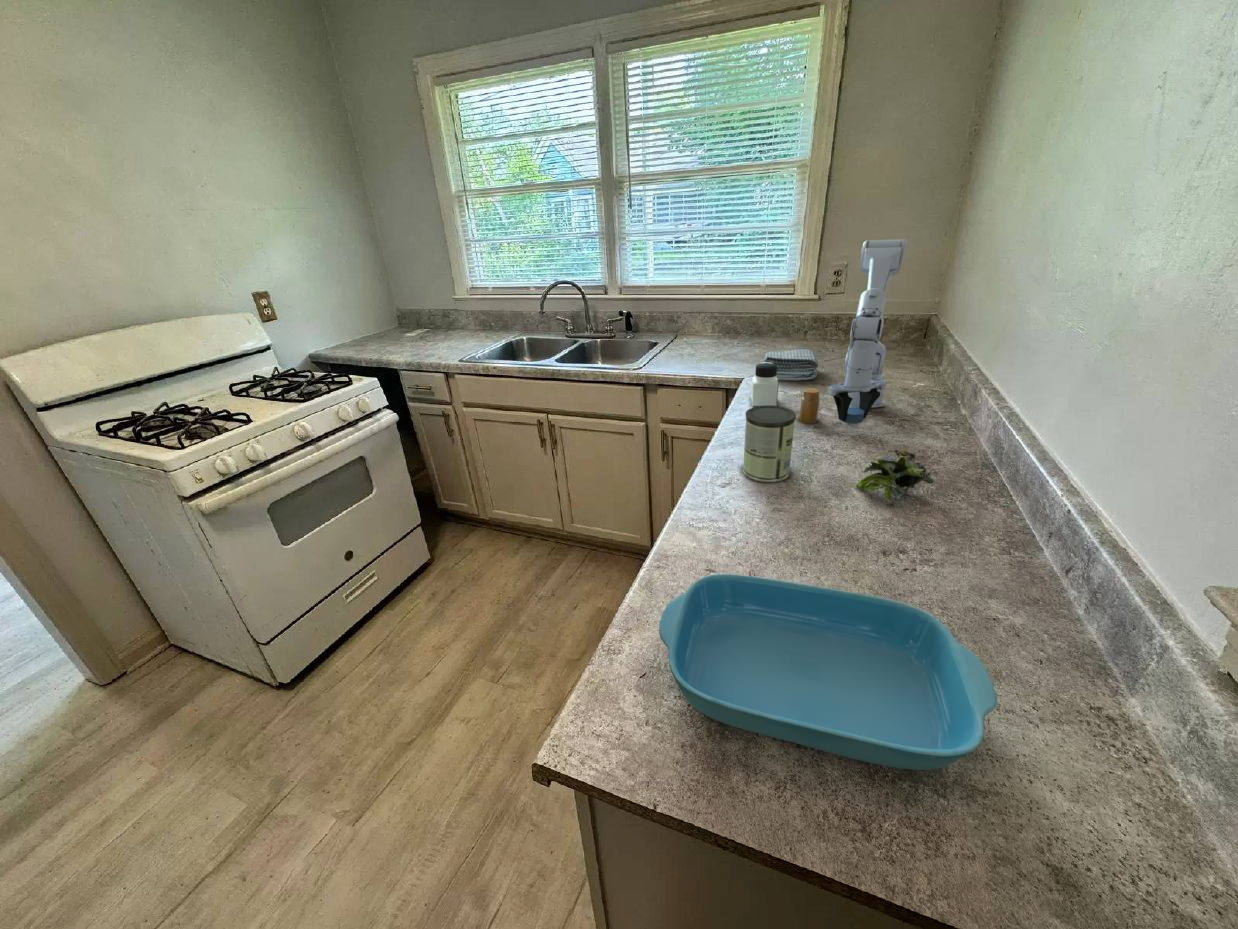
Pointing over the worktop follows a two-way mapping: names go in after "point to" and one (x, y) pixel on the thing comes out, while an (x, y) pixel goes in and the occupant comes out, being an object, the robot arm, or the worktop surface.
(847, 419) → the jar lid
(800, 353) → the towel
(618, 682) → the worktop surface
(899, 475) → the green leafy plant
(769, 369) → the medicine bottle
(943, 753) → the casserole dish
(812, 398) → the honey jar
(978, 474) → the worktop surface
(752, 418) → the coffee can
